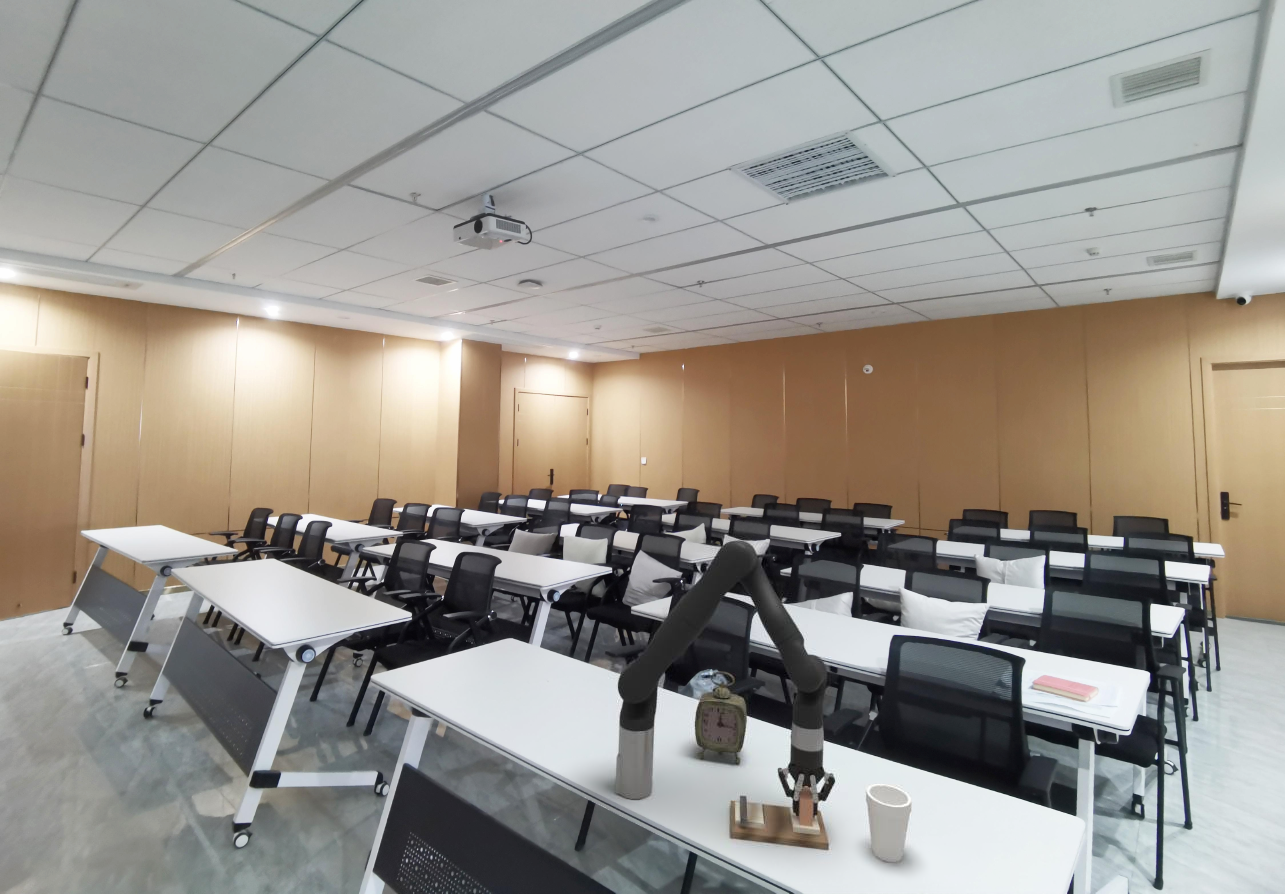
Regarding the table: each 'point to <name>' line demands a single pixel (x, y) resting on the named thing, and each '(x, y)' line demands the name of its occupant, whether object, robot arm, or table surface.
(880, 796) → the foam cup
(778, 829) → the stand
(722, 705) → the tabletop clock
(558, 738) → the table surface
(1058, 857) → the table surface
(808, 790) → the stub
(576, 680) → the table surface
